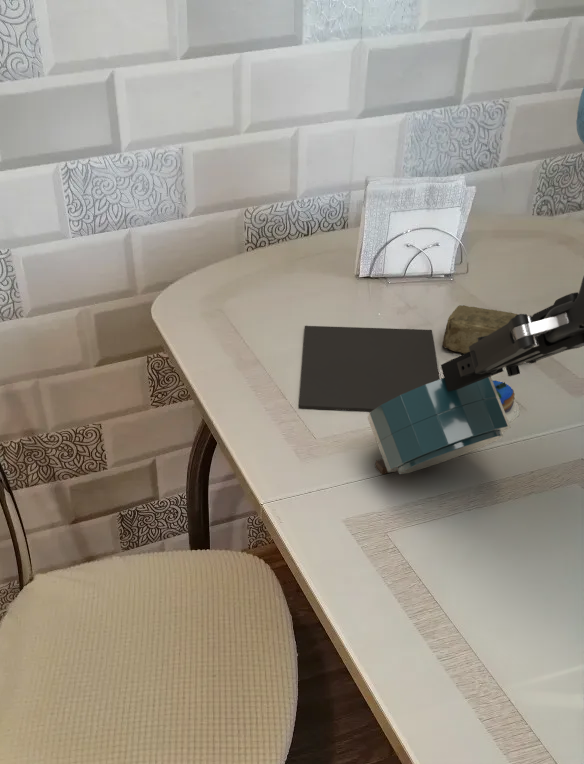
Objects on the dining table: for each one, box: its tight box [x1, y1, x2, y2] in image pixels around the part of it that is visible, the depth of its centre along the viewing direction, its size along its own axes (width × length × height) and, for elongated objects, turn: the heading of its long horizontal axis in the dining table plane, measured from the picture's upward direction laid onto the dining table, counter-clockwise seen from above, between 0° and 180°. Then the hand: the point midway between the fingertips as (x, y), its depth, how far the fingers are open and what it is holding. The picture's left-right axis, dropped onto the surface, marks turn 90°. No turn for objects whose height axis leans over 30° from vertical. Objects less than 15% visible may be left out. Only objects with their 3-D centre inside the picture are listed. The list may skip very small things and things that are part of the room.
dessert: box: [492, 380, 520, 424], centre depth 98 cm, size 8×7×6 cm
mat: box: [298, 325, 441, 413], centre depth 107 cm, size 18×20×1 cm
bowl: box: [367, 376, 511, 475], centre depth 84 cm, size 13×13×7 cm
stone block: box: [442, 304, 529, 355], centre depth 108 cm, size 6×12×5 cm, turn 68°
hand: (449, 377), depth 78 cm, fingers closed
